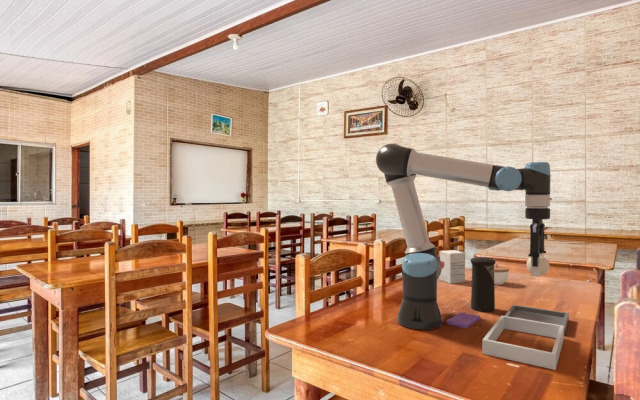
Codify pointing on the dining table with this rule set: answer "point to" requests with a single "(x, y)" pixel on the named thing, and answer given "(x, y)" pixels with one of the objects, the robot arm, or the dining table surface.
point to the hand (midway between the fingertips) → (537, 273)
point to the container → (483, 284)
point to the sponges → (463, 320)
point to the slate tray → (539, 315)
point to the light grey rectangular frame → (519, 352)
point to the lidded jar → (500, 274)
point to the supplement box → (452, 266)
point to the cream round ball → (543, 265)
